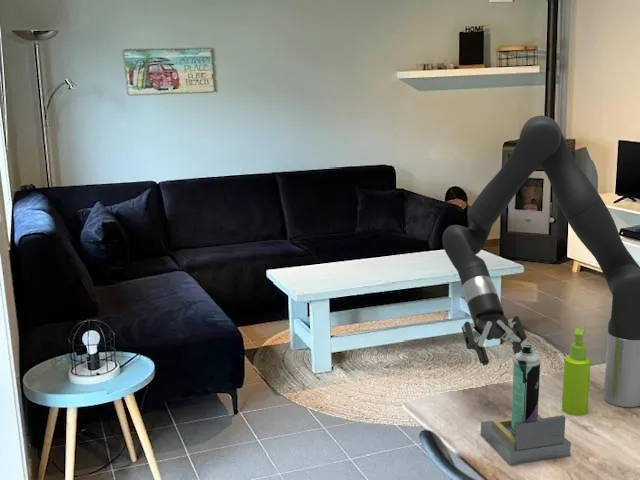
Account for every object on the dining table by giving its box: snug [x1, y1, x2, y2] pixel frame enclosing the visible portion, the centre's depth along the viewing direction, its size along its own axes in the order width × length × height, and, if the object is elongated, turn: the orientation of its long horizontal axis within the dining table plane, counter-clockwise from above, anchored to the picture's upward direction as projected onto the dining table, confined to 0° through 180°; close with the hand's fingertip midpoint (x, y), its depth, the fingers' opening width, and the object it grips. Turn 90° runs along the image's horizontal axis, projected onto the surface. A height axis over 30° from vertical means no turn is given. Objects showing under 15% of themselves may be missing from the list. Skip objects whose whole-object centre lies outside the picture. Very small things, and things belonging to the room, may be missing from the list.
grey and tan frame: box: [480, 414, 572, 466], centre depth 165 cm, size 14×14×9 cm
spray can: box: [511, 344, 541, 434], centre depth 164 cm, size 6×6×20 cm
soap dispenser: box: [561, 326, 592, 416], centre depth 180 cm, size 6×7×20 cm
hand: (503, 362), depth 173 cm, fingers open, 8 cm apart
